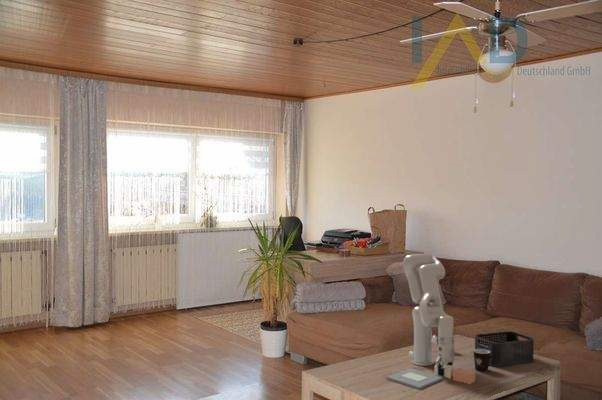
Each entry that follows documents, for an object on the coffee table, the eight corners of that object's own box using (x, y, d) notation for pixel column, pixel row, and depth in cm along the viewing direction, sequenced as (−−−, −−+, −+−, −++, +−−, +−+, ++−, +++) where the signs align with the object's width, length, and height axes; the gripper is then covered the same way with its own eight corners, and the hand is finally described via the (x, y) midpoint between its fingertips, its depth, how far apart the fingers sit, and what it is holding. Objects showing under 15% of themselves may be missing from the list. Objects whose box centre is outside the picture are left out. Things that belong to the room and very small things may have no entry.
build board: (386, 379, 291) (386, 376, 291) (409, 370, 305) (409, 367, 304) (419, 389, 276) (419, 386, 276) (442, 379, 290) (442, 377, 290)
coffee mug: (469, 368, 308) (469, 349, 308) (482, 366, 311) (483, 348, 311) (484, 375, 297) (484, 356, 297) (497, 373, 301) (497, 354, 300)
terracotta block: (453, 380, 290) (453, 370, 290) (458, 377, 294) (458, 367, 294) (469, 384, 284) (469, 374, 284) (475, 381, 288) (475, 371, 288)
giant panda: (454, 351, 338) (454, 335, 338) (453, 354, 333) (453, 337, 333) (429, 348, 344) (429, 332, 344) (427, 351, 339) (427, 334, 339)
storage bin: (511, 352, 338) (511, 330, 337) (536, 362, 320) (536, 338, 319) (471, 358, 327) (472, 334, 326) (495, 368, 309) (495, 343, 308)
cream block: (434, 375, 298) (434, 365, 298) (440, 372, 302) (440, 362, 302) (450, 379, 292) (450, 369, 292) (455, 376, 296) (455, 366, 296)
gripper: (442, 344, 288) (442, 379, 288) (461, 338, 300) (460, 371, 300) (429, 341, 293) (429, 375, 294) (448, 335, 305) (448, 368, 306)
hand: (445, 373), depth 297 cm, fingers open, 7 cm apart
